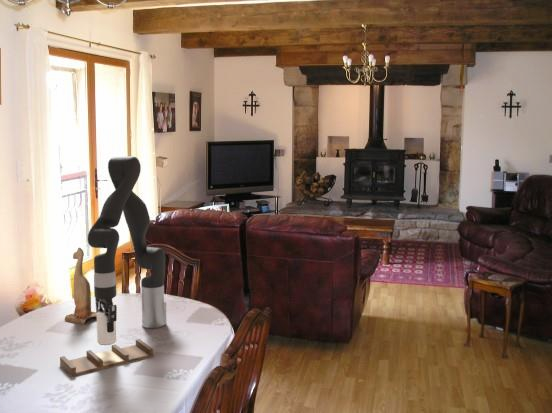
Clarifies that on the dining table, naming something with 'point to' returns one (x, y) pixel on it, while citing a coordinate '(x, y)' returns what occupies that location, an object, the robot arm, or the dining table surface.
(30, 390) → the dining table surface
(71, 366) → the notch rack
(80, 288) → the bird sculpture
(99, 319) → the can
